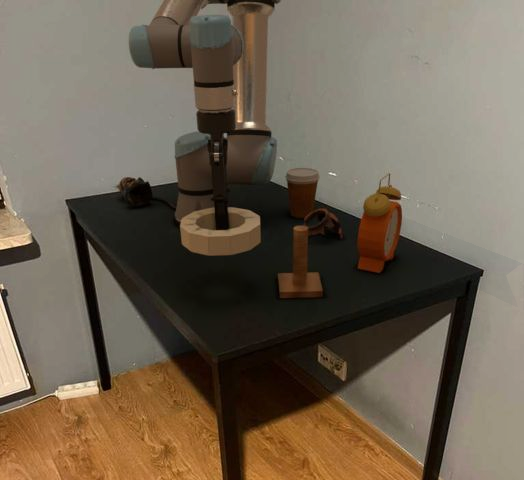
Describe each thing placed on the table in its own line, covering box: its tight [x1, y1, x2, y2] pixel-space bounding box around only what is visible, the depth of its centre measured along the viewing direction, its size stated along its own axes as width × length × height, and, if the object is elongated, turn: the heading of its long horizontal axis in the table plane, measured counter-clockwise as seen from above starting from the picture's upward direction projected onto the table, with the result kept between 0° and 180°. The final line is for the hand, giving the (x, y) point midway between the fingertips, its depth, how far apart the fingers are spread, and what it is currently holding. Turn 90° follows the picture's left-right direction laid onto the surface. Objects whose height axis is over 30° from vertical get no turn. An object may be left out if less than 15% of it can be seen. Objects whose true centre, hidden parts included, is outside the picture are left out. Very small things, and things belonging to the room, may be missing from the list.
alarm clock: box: [357, 173, 403, 274], centre depth 123 cm, size 13×6×20 cm, turn 151°
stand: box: [277, 225, 324, 299], centre depth 114 cm, size 9×9×14 cm
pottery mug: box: [302, 207, 343, 240], centre depth 142 cm, size 12×10×8 cm
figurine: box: [117, 176, 153, 209], centre depth 167 cm, size 9×8×15 cm
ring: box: [179, 206, 262, 257], centre depth 112 cm, size 16×16×4 cm
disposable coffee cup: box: [284, 167, 321, 219], centre depth 154 cm, size 10×10×12 cm
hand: (222, 226), depth 118 cm, fingers closed on ring, 3 cm apart
